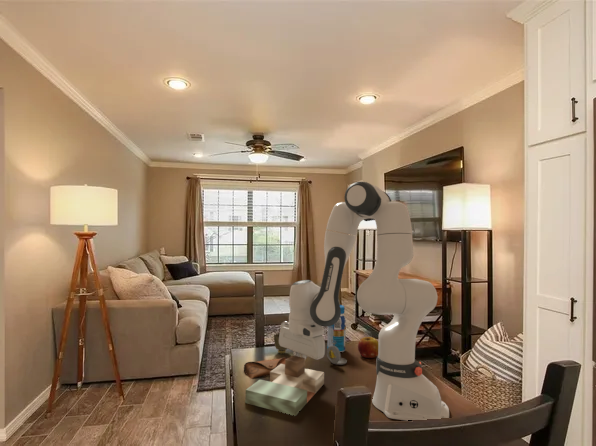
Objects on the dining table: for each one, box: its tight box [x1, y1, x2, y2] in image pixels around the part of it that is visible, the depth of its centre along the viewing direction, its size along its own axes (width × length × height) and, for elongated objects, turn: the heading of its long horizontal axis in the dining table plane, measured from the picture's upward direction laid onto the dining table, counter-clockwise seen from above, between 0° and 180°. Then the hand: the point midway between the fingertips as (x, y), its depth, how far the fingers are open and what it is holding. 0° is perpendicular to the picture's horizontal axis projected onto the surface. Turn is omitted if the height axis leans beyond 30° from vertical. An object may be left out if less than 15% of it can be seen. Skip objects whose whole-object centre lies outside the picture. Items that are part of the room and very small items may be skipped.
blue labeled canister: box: [326, 304, 347, 353], centre depth 157 cm, size 8×8×20 cm
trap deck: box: [244, 364, 325, 417], centre depth 114 cm, size 17×24×4 cm
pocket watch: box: [326, 340, 348, 366], centre depth 141 cm, size 8×8×10 cm
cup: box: [273, 331, 288, 355], centre depth 151 cm, size 8×7×8 cm
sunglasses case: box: [243, 357, 288, 380], centre depth 131 cm, size 18×7×7 cm
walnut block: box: [285, 355, 306, 378], centre depth 120 cm, size 5×5×5 cm
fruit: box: [357, 336, 379, 359], centre depth 149 cm, size 10×9×8 cm
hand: (300, 364), depth 123 cm, fingers closed
